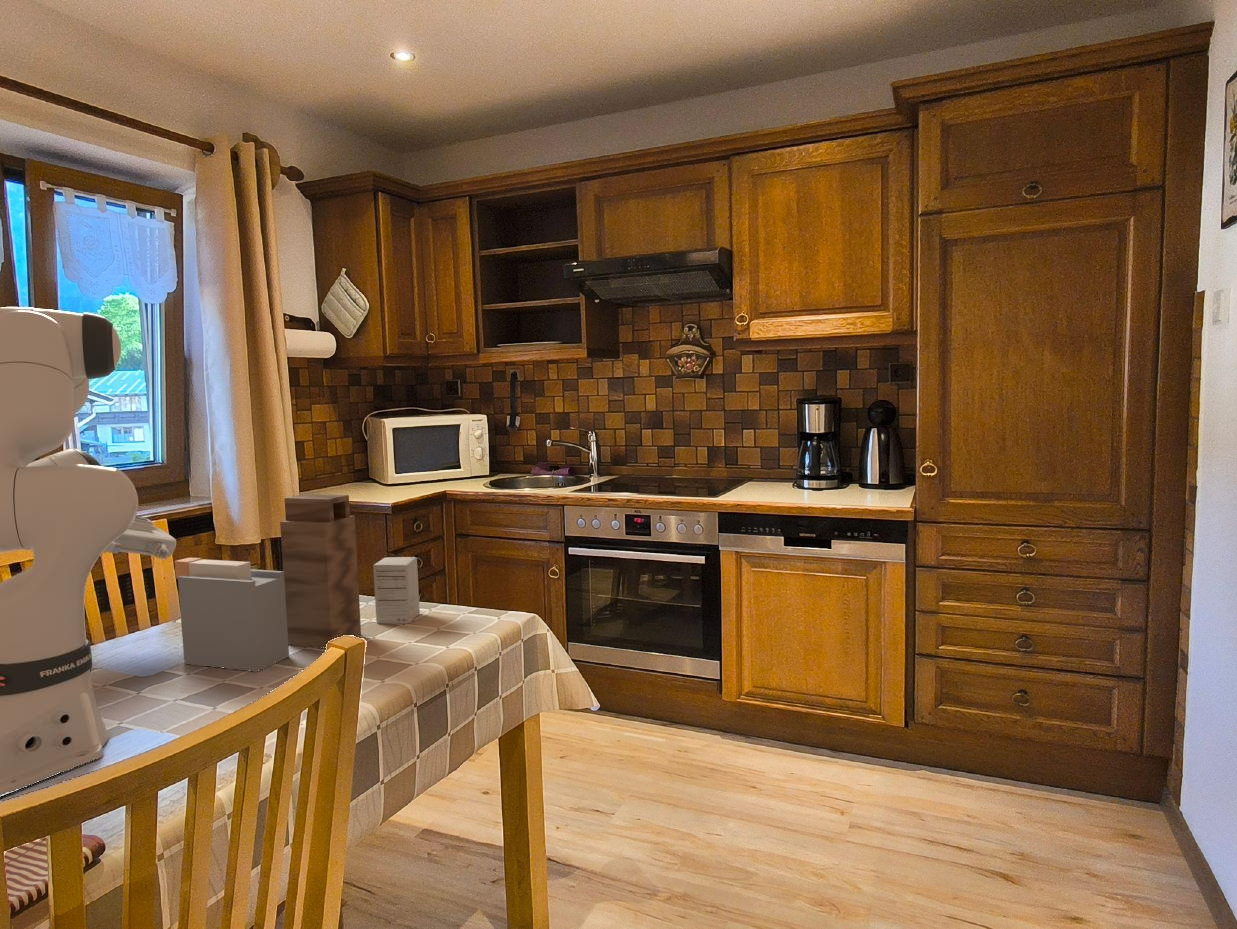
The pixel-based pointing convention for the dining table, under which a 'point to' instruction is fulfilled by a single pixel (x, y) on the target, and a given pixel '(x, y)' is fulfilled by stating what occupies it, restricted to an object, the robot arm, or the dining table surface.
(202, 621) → the block
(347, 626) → the holster tower
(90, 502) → the robot arm
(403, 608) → the supplement box
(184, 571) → the beige rectangular bar
